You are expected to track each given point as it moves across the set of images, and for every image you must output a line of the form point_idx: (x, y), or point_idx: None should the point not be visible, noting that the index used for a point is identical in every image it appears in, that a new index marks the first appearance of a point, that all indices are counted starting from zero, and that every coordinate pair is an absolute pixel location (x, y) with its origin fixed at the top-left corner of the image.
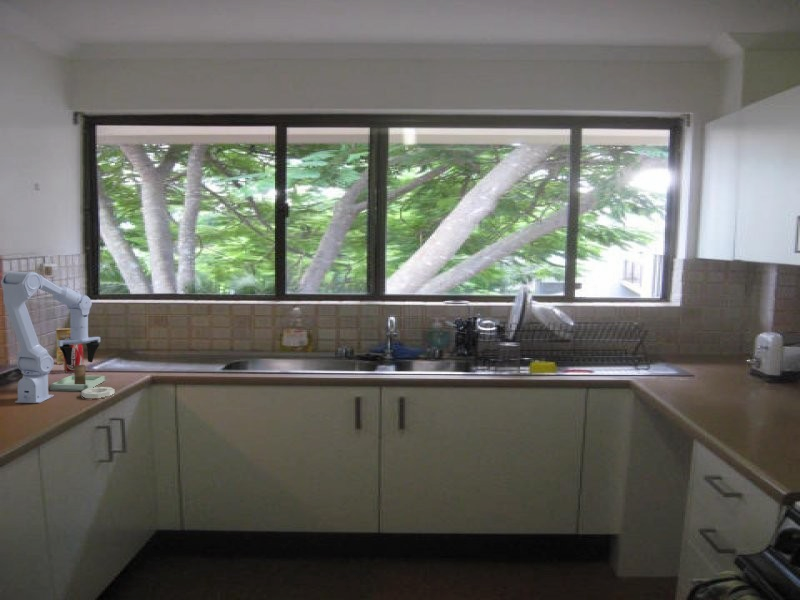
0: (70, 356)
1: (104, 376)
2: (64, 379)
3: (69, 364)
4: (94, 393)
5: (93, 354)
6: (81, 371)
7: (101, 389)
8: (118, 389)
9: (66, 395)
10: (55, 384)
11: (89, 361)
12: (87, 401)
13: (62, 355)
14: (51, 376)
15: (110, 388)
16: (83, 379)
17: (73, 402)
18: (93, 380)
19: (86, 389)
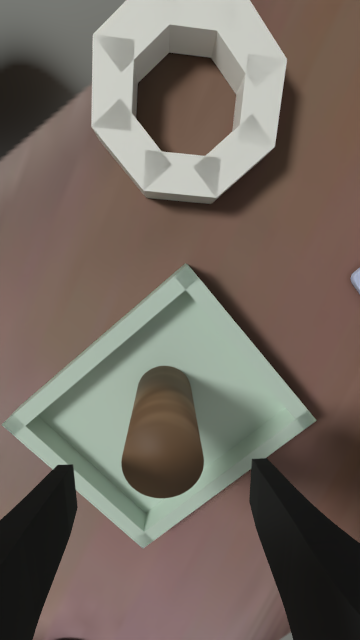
0: (299, 518)
1: (10, 417)
2: (207, 482)
3: (267, 461)
4: (247, 17)
5: (8, 521)
6: (168, 406)
7: (149, 137)
8: (29, 184)
9: (296, 254)
10: (298, 399)
11: (73, 487)
12: (290, 24)
13: None
14: (171, 633)
15: (104, 83)
16: (155, 380)
17: (351, 66)
18: (104, 358)
19: (229, 175)
